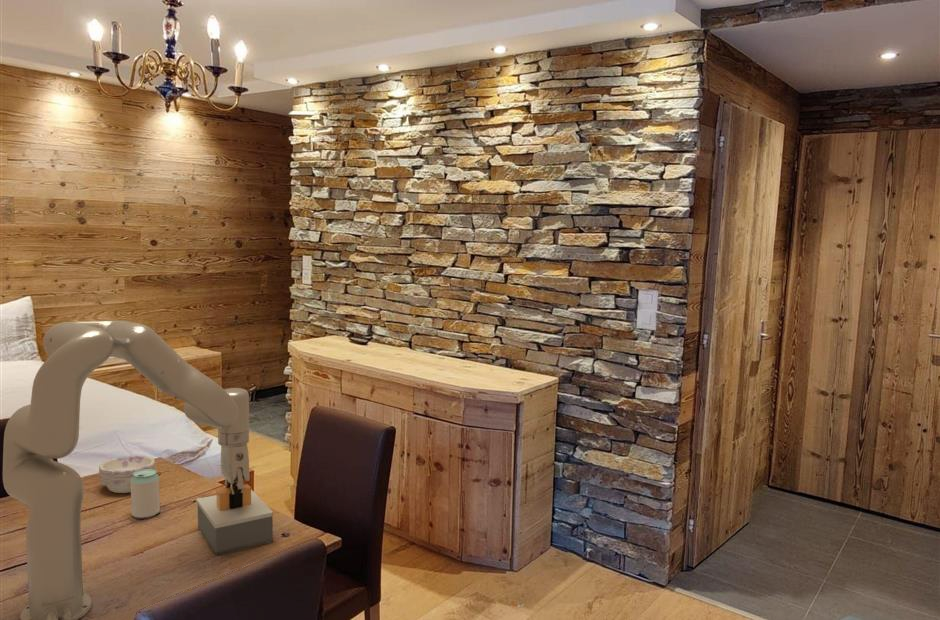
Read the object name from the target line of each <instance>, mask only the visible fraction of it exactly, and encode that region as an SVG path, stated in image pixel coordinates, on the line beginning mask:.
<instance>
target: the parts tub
mask: <svg viewBox="0 0 940 620" xmlns="http://www.w3.org/2000/svg"><path fill="white" fill-rule="evenodd" d="M273 517H274V515H273V516H271V517H266V518H262V519H257V520H252V521H248V522H243V523H239V524H234V525H229V526H225V527H220V528H214V527H213V525H212V524H211V522H210V521H209V520H208V518H207V517H206V515H205V514H204V513H203V511H202V510H201V508H200V507H199V506H198V505H197V528H198V530H199V531H201V532H200V533H201V535H202V536H203V538H204V539H205V541H206V542H207V544H208V545H209V547H210V548H211V549H212V551H213V553H214V554H215V556H220V555H224V554H229V553H232V552H236V551H241V550H245V549H249V548H253V547H257V546H261V545H262V546H263V545H265V544H270V543H273V540H274V539H273V537H274V536H273V534H274V533H273V532H274V531H273V529H274V528H273V527H274V526H273V524H274V523H273V522H274V520H273Z"/></svg>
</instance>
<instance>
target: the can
mask: <svg viewBox="0 0 940 620" xmlns="http://www.w3.org/2000/svg"><path fill="white" fill-rule="evenodd" d="M130 499H131V500H130V505H131V507H130V509H131V515H132V517H134V518H136V519H141V520H142V519H149V518H153V517H154V516H156V515H157V514H158V513H159V512H160V511H161V510H160V509H161V508H160V507H161V506H160V501H161V500H160V476H159V475H158V474H157V470H156V469H155V470H152V469H145V470H139V471H137V472H135V473H134V474H133V477H132V479H131V492H130Z"/></svg>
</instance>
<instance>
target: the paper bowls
mask: <svg viewBox="0 0 940 620" xmlns="http://www.w3.org/2000/svg"><path fill="white" fill-rule="evenodd" d="M145 469H152V470H155V471H156V461H155V459H154V458H153V457H150V456H145V455H126V456H120V457H115V458H111V459H108V460H106V461H103V462H102V463H101V464H99V467H98V481H99V483H100V485H102V486H105V487H107V489H108V491H110V492H113V493H116V494H129V493H130V494H131V479H132V477H133V474H134V473H135V472H137V471H139V470H145Z"/></svg>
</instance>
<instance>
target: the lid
mask: <svg viewBox="0 0 940 620" xmlns="http://www.w3.org/2000/svg"><path fill="white" fill-rule="evenodd" d="M229 494H231V487H229V488H219V489H216V494H215V495H214V494H213V495H210V496H204V497H199V498H196V499H195V502H196V504H197V507H198V506H199V507H200V508H201V510H202V511H203V513H204V514H205V515H206V517H207V518H208V520H209V521H210V522H211V524H212V525H213V527H214V528H220V527H225V526H229V525H234V524H239V523H243V522H248V521H252V520H257V519H262V518H266V517H271V516H273V517H274V512H273V510H272V509H271V508H270V507H269V506H268V505H267V504H266V503H265V502H264V501H263V500H262V499H261V498H260V496H258V495H257V494H256V493H255V492H254V490H252V487H251V486H250V485H249V484H248V483H246V484H244V488H243V506H242V507H240V508H235V509H230V507H229Z"/></svg>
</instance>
